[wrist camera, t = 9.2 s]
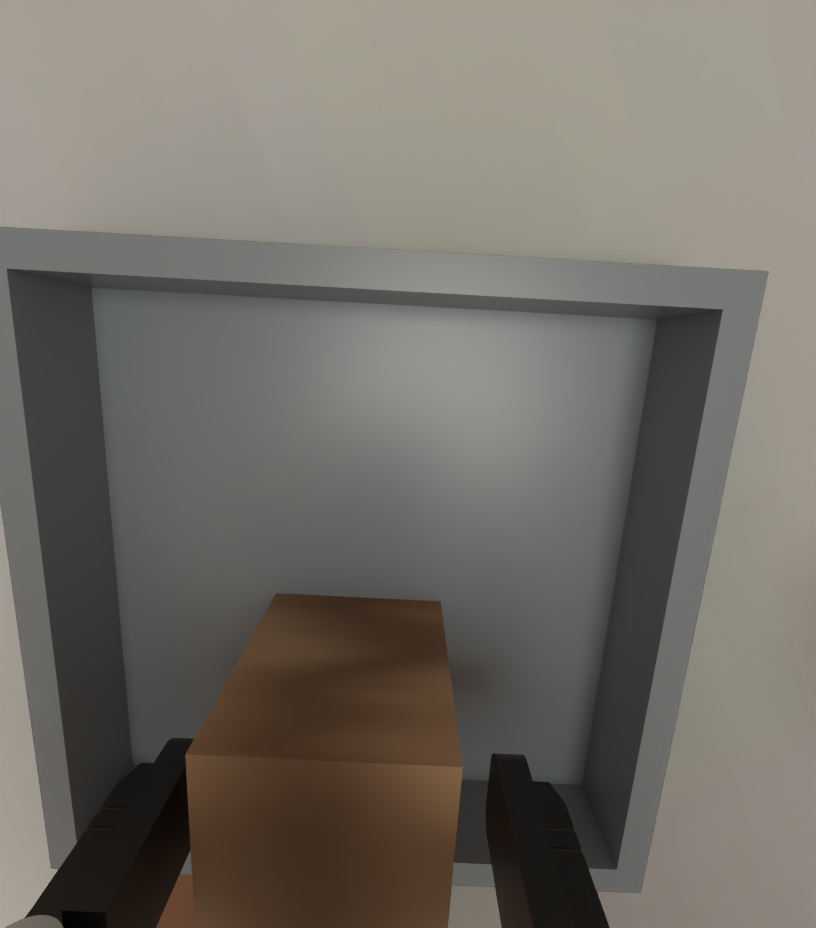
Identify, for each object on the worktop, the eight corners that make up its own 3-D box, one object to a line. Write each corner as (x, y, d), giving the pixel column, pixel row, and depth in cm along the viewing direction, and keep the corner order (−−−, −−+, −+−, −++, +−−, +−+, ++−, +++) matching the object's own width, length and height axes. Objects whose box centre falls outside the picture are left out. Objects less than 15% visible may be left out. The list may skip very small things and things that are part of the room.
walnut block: (440, 601, 14) (462, 766, 9) (429, 740, 16) (443, 972, 10) (276, 592, 14) (184, 754, 9) (276, 733, 15) (197, 962, 10)
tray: (675, 293, 13) (768, 271, 10) (593, 784, 17) (640, 892, 13) (78, 259, 13) (-39, 224, 10) (124, 764, 17) (50, 868, 13)
